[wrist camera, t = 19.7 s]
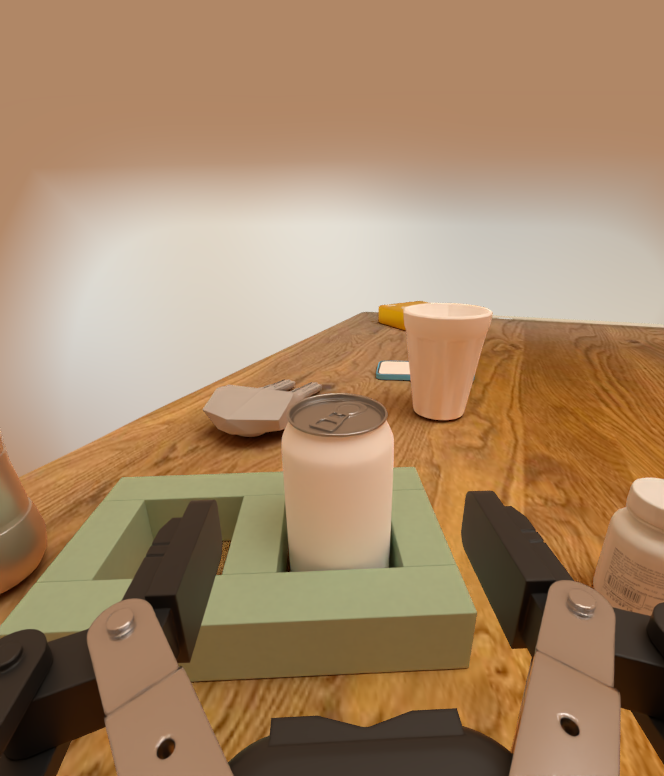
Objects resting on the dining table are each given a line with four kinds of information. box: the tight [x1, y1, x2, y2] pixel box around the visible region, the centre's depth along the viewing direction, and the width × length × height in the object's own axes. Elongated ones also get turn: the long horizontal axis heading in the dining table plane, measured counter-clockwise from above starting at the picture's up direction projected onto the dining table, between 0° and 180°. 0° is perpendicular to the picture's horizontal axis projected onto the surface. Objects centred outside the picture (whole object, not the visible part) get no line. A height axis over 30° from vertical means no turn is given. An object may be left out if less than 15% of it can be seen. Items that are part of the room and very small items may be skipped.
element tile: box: [378, 301, 428, 331], centre depth 100 cm, size 15×15×5 cm
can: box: [282, 393, 394, 572], centre depth 24 cm, size 6×6×12 cm
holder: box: [0, 467, 477, 682], centre depth 25 cm, size 13×23×4 cm, turn 92°
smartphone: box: [376, 361, 475, 381], centre depth 64 cm, size 8×1×15 cm
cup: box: [403, 303, 493, 420], centre depth 48 cm, size 10×10×13 cm
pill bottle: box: [593, 478, 664, 616], centre depth 23 cm, size 4×4×8 cm
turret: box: [202, 379, 322, 437], centre depth 50 cm, size 10×20×5 cm, turn 161°
